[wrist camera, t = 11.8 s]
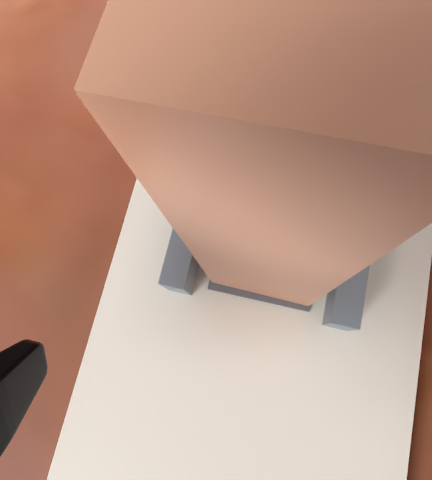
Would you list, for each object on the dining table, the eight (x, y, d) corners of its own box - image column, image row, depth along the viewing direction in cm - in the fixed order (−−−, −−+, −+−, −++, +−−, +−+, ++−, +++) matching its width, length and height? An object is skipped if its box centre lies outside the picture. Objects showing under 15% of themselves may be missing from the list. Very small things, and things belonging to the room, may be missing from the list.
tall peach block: (308, 306, 16) (511, 168, 3) (212, 282, 16) (72, 89, 4) (332, 191, 17) (551, -240, 4) (240, 173, 18) (204, -251, 5)
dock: (368, 696, 14) (415, 845, 10) (30, 575, 16) (-49, 656, 12) (430, 172, 18) (480, 123, 14) (161, 127, 20) (138, 73, 16)
